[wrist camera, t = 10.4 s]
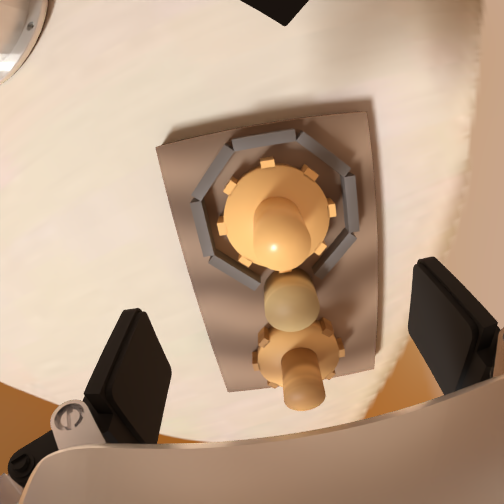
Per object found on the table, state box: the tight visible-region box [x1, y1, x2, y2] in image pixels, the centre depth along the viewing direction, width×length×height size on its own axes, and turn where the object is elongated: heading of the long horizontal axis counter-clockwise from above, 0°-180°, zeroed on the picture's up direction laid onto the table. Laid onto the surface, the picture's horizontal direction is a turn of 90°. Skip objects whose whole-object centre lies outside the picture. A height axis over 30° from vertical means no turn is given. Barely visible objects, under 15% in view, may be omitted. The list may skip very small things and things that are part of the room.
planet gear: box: [217, 156, 336, 273], centre depth 21 cm, size 8×8×6 cm
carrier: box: [156, 112, 378, 411], centre depth 24 cm, size 24×15×8 cm, turn 10°
